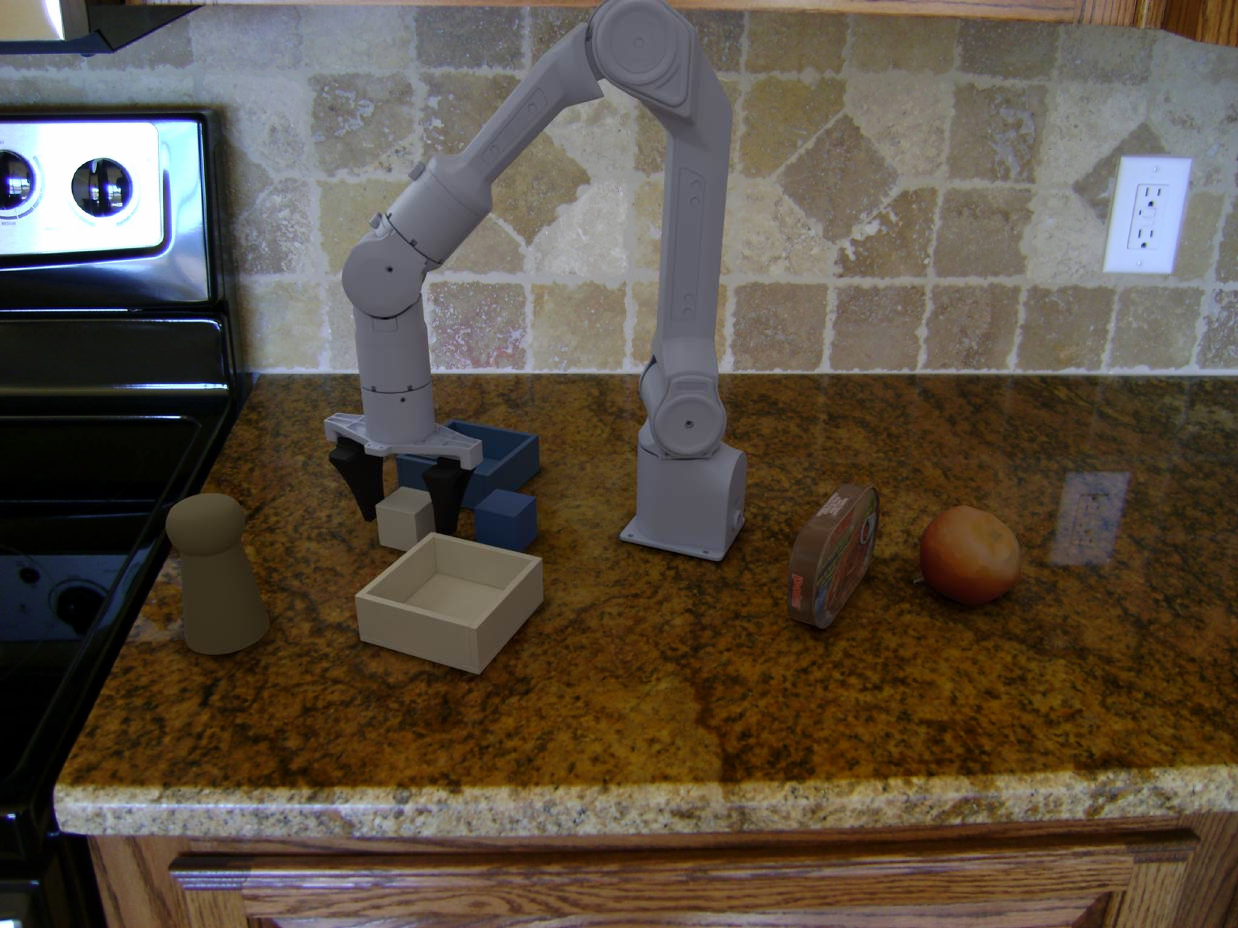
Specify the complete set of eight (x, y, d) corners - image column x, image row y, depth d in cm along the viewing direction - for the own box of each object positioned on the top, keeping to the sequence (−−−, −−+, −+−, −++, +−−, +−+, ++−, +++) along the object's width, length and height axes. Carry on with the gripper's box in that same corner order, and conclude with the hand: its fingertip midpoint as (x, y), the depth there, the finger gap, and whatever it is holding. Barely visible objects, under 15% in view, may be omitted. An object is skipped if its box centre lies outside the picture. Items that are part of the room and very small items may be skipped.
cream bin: (543, 600, 75) (542, 557, 73) (479, 675, 66) (475, 628, 64) (434, 572, 78) (431, 531, 76) (360, 640, 70) (354, 595, 68)
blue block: (537, 536, 84) (536, 496, 82) (516, 557, 80) (514, 517, 79) (498, 527, 85) (496, 488, 83) (476, 547, 82) (473, 507, 80)
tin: (813, 649, 69) (825, 552, 66) (773, 635, 71) (783, 539, 67) (877, 560, 81) (890, 473, 77) (842, 549, 82) (853, 464, 79)
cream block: (443, 533, 84) (440, 494, 82) (418, 554, 81) (414, 514, 79) (405, 524, 85) (401, 485, 84) (379, 545, 82) (375, 505, 80)
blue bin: (540, 470, 96) (539, 434, 94) (490, 513, 87) (488, 475, 86) (454, 453, 99) (452, 418, 98) (399, 493, 91) (395, 456, 89)
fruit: (925, 532, 82) (983, 478, 77) (989, 602, 80) (1055, 552, 74) (875, 566, 77) (934, 511, 71) (943, 642, 75) (1009, 591, 69)
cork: (242, 659, 67) (215, 527, 63) (167, 648, 68) (135, 517, 64) (285, 612, 73) (263, 487, 68) (215, 602, 74) (189, 478, 69)
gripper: (292, 383, 76) (314, 529, 82) (446, 412, 71) (457, 564, 77) (346, 357, 82) (363, 495, 87) (492, 381, 77) (499, 525, 82)
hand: (410, 525), depth 82 cm, fingers open, 7 cm apart
